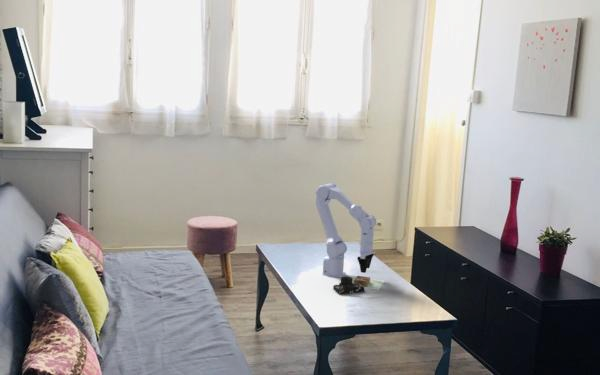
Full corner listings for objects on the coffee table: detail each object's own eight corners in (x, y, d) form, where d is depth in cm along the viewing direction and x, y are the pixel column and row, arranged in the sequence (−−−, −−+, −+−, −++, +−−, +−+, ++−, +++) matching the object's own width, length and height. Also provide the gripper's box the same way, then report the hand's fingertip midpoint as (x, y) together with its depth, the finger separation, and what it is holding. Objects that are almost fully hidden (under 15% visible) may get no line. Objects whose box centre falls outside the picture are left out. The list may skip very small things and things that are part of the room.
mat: (339, 285, 289) (339, 284, 288) (347, 276, 302) (347, 275, 302) (378, 290, 283) (378, 289, 283) (385, 281, 296) (385, 280, 296)
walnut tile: (357, 280, 295) (353, 285, 288) (357, 275, 294) (353, 279, 288) (370, 282, 293) (366, 286, 286) (370, 277, 292) (366, 281, 286)
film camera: (360, 275, 286) (365, 276, 277) (361, 292, 286) (366, 294, 276) (331, 277, 285) (335, 278, 275) (332, 294, 284) (336, 295, 274)
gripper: (371, 246, 284) (370, 275, 287) (378, 239, 298) (376, 267, 300) (356, 244, 286) (354, 273, 289) (363, 237, 300) (362, 265, 302)
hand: (365, 270), depth 295 cm, fingers open, 7 cm apart
